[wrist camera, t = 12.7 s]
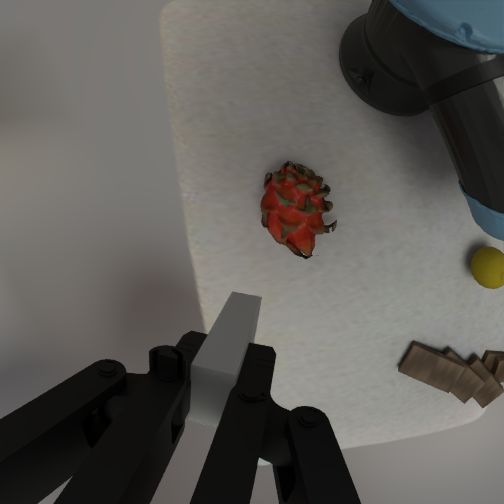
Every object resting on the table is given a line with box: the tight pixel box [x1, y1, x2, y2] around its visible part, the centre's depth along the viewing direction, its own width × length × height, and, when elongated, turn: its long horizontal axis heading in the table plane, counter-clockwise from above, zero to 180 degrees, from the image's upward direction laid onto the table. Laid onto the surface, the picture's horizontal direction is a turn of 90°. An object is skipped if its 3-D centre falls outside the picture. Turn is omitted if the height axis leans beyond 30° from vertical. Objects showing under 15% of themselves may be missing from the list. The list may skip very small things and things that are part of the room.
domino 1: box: [398, 341, 465, 393], centre depth 41 cm, size 5×2×10 cm
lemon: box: [471, 247, 504, 289], centre depth 34 cm, size 6×6×8 cm
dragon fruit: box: [261, 160, 337, 259], centre depth 37 cm, size 8×8×12 cm
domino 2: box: [443, 347, 485, 404], centre depth 40 cm, size 5×2×10 cm
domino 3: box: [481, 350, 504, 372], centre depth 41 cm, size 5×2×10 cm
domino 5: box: [467, 355, 504, 408], centre depth 40 cm, size 5×2×10 cm
